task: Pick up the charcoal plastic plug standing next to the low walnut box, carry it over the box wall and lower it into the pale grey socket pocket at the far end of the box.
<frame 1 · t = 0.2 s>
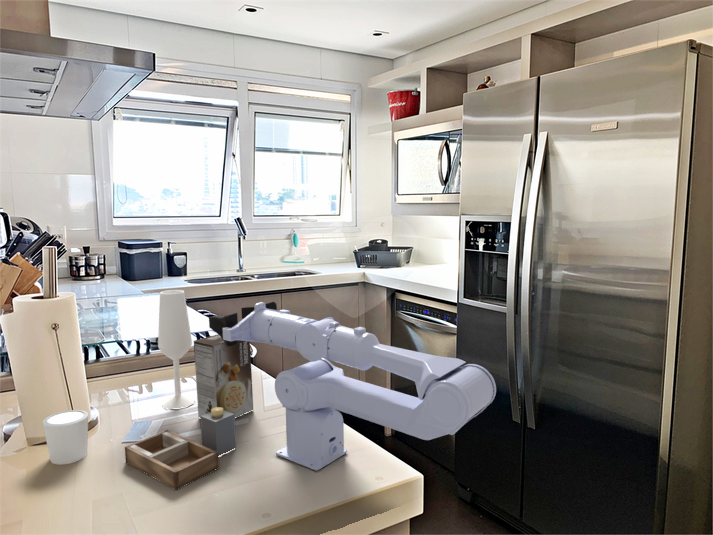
hand: (227, 317, 102), 21 cm above the worktop, tool horizontal, fingers open, 7 cm apart
walnut box: (171, 465, 90), on the worktop
white cup: (69, 457, 93), on the worktop
coffee box: (226, 416, 110), on the worktop
plug: (219, 450, 95), on the worktop
champagne flute: (178, 404, 116), on the worktop
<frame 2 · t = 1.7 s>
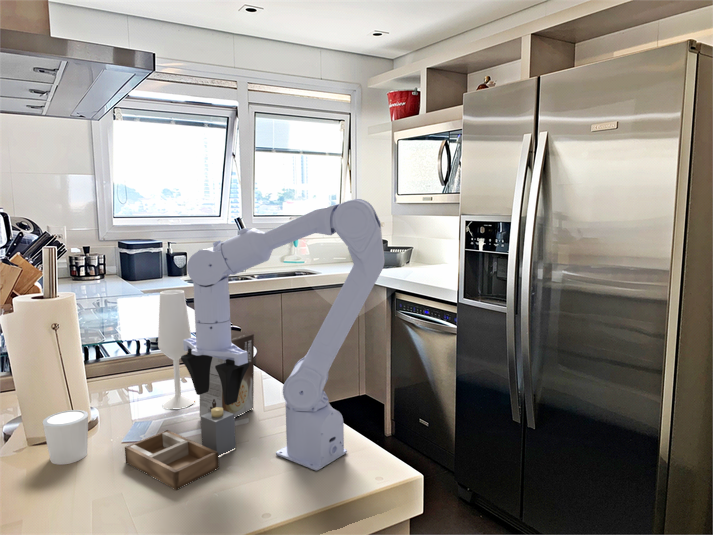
hand: (216, 397, 94), 10 cm above the worktop, tool pointing down, fingers open, 7 cm apart
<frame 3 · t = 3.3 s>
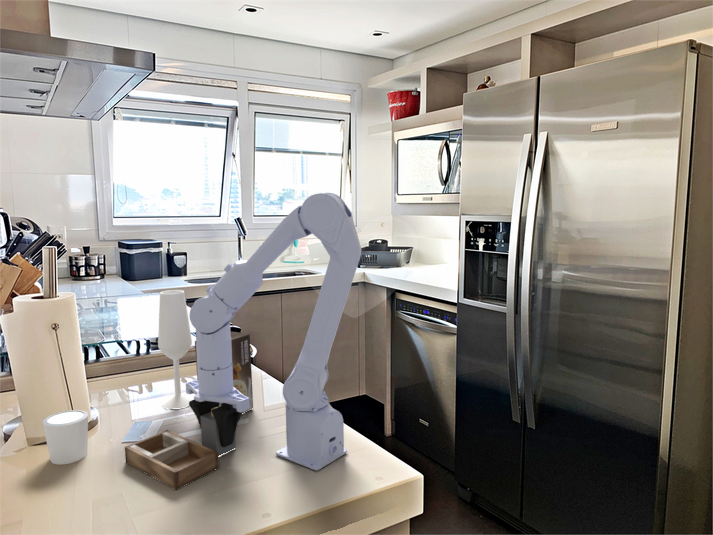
hand: (218, 441, 95), 2 cm above the worktop, tool pointing down, fingers closed on plug, 4 cm apart
plug: (219, 450, 95), on the worktop, touching gripper
everything else where it was.
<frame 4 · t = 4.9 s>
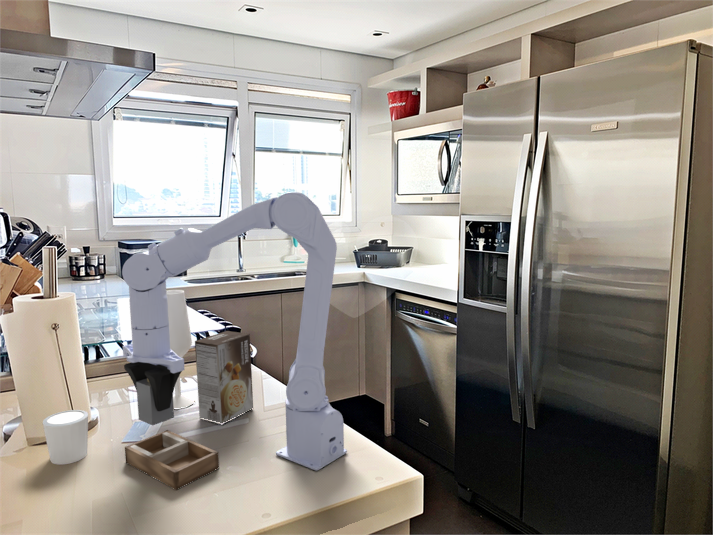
hand: (155, 405, 91), 9 cm above the worktop, tool pointing down, fingers closed on plug, 4 cm apart
plug: (156, 418, 91), point 7 cm above the worktop, touching gripper
everything else where it was.
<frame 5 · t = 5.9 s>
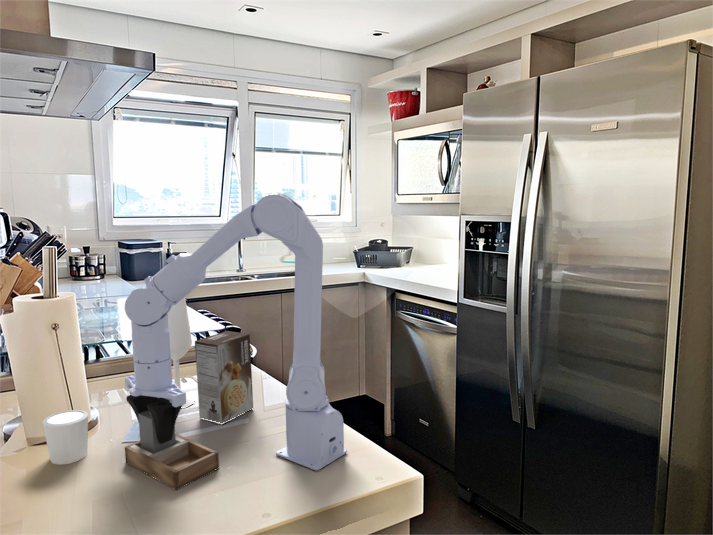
hand: (157, 437, 92), 4 cm above the worktop, tool pointing down, fingers closed on plug, 4 cm apart
plug: (158, 449, 92), point 2 cm above the worktop, touching gripper
everything else where it was.
when the fingers open (4 cm above the worktop, at t = 6.7 s): plug drops 1 cm, resting on walnut box.
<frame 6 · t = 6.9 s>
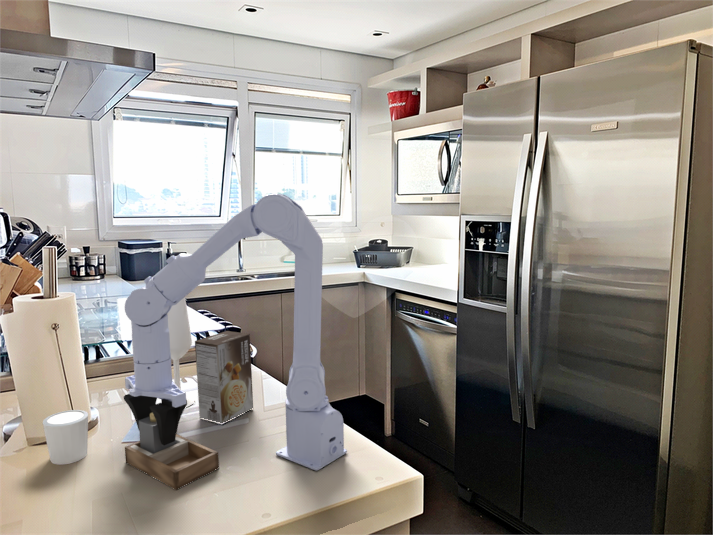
hand: (157, 437, 92), 4 cm above the worktop, tool pointing down, fingers open, 6 cm apart
plug: (158, 456, 92), resting on walnut box
everything else where it was.
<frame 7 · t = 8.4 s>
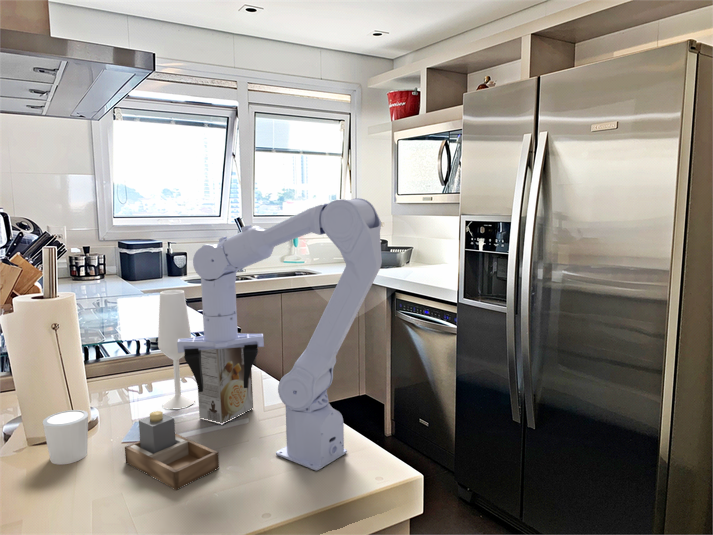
hand: (223, 388, 97), 10 cm above the worktop, tool pointing down, fingers open, 7 cm apart
nothing on the worktop moved.
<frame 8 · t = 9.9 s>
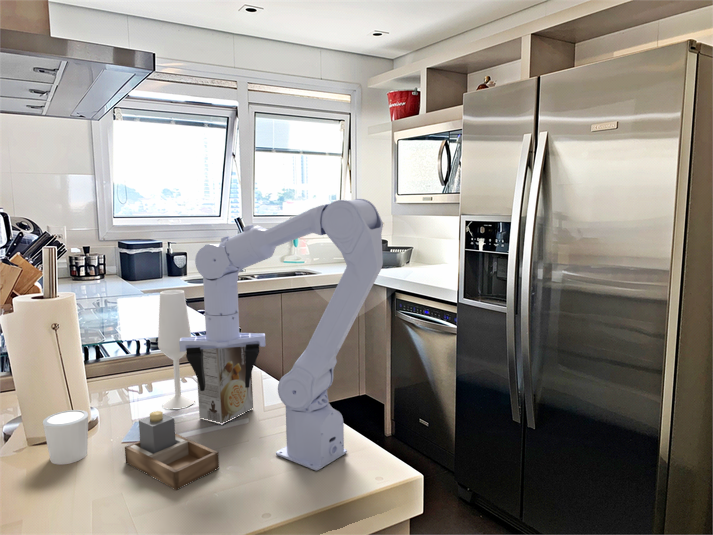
hand: (225, 387, 97), 10 cm above the worktop, tool pointing down, fingers open, 7 cm apart
nothing on the worktop moved.
at the end: plug 0.0 cm from the target spot on the walnut box, point 0.5 cm above the walnut box's base; plug tilted 0°; the gripper is holding nothing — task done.
